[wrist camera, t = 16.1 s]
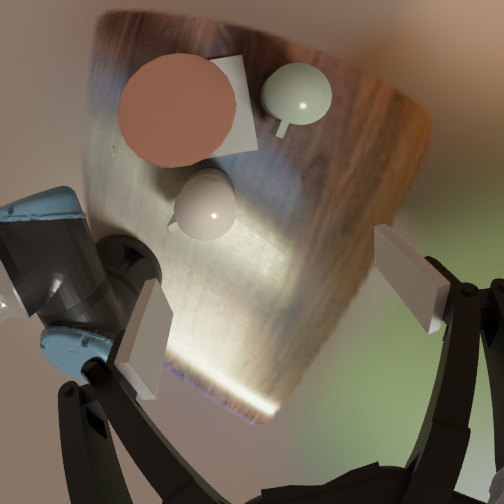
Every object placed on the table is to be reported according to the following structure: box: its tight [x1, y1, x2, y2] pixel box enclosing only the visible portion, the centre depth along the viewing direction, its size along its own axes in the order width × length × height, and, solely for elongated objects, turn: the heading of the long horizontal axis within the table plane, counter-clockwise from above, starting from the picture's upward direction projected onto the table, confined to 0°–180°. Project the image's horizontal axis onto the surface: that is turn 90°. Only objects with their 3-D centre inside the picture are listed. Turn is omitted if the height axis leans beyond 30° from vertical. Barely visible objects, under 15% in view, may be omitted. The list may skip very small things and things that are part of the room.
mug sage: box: [260, 63, 332, 138], centre depth 35 cm, size 10×8×9 cm
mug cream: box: [167, 168, 236, 240], centre depth 41 cm, size 10×8×9 cm
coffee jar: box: [118, 53, 236, 168], centre depth 30 cm, size 11×11×18 cm
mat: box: [160, 55, 258, 169], centre depth 38 cm, size 15×15×1 cm
